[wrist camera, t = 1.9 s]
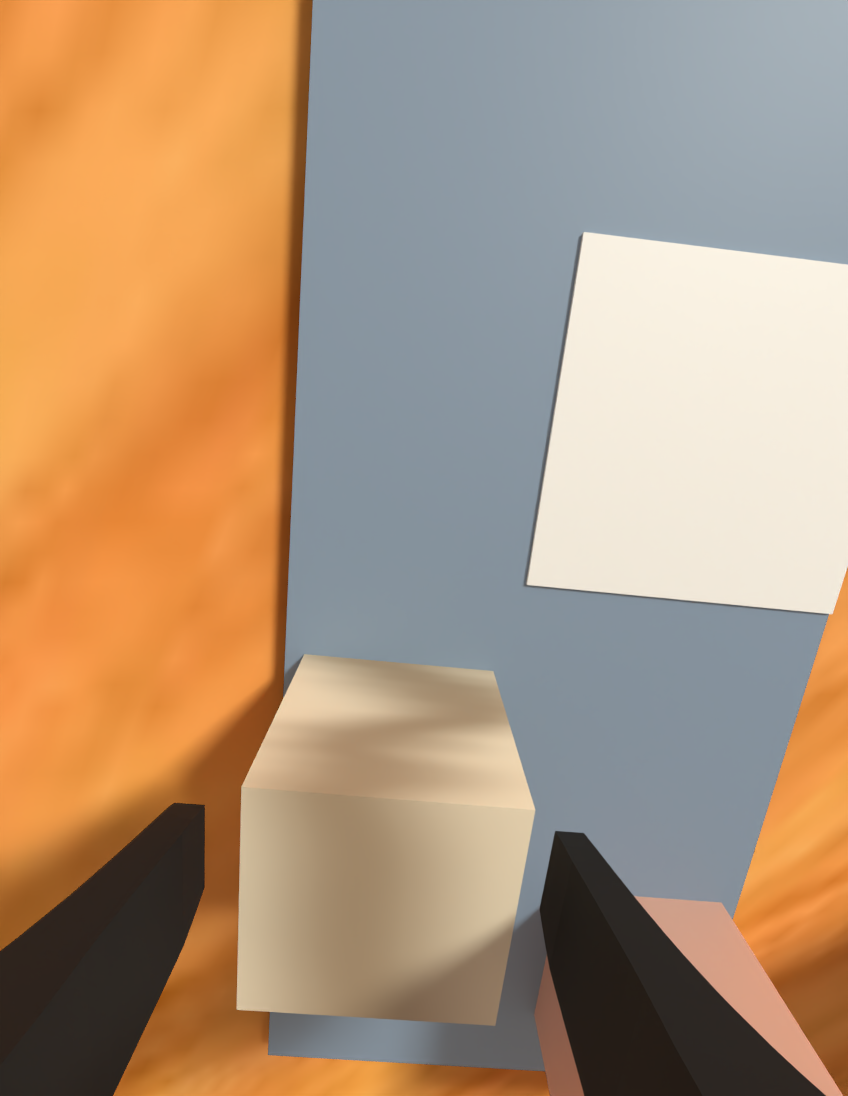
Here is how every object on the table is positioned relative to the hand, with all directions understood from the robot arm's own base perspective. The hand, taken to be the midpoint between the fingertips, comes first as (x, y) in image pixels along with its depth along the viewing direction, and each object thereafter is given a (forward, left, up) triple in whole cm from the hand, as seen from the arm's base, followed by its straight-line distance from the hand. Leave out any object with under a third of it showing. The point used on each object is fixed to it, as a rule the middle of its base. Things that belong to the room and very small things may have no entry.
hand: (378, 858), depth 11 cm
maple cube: (0, 0, -4) cm, 4 cm away
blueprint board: (-4, -3, -4) cm, 7 cm away
